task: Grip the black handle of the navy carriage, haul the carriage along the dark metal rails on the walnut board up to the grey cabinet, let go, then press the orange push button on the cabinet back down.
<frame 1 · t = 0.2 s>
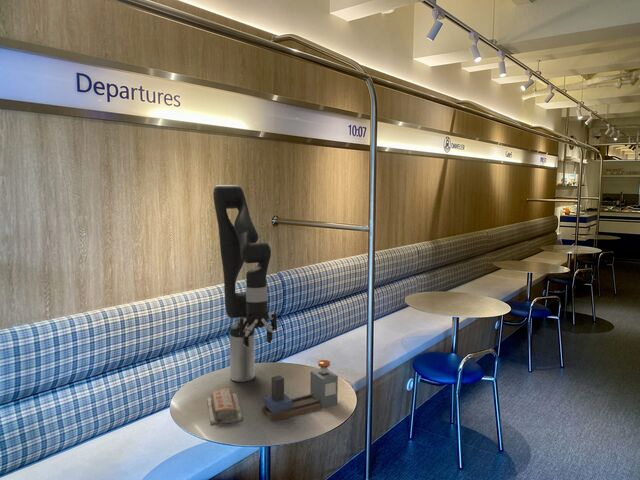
hand: (257, 344, 168), 18 cm above the table, tool pointing down, fingers open, 8 cm apart
carriage: (277, 391, 153), point 7 cm above the table, slide at 0.0 cm
end cabinet: (323, 401, 163), on the table
rail bed: (291, 409, 157), on the table
orange push button: (324, 370, 162), point 11 cm above the table, slide at 0.0 cm
packaged product: (224, 411, 156), on the table
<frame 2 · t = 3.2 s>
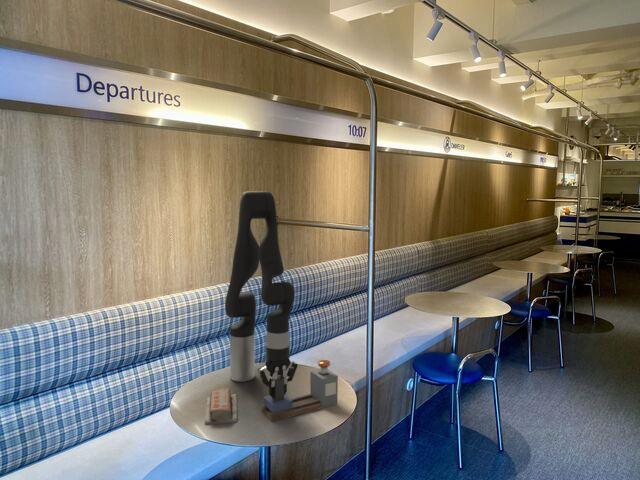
hand: (277, 395, 153), 6 cm above the table, tool pointing down, fingers closed on carriage, 3 cm apart
carriage: (277, 391, 153), point 7 cm above the table, slide at 0.0 cm, touching gripper
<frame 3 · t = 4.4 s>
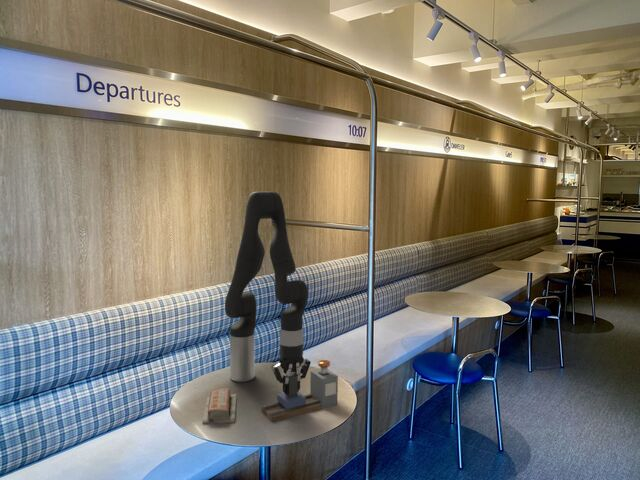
hand: (291, 392, 156), 6 cm above the table, tool pointing down, fingers closed on carriage, 3 cm apart
carriage: (291, 388, 156), point 7 cm above the table, slide at 5.0 cm, touching gripper
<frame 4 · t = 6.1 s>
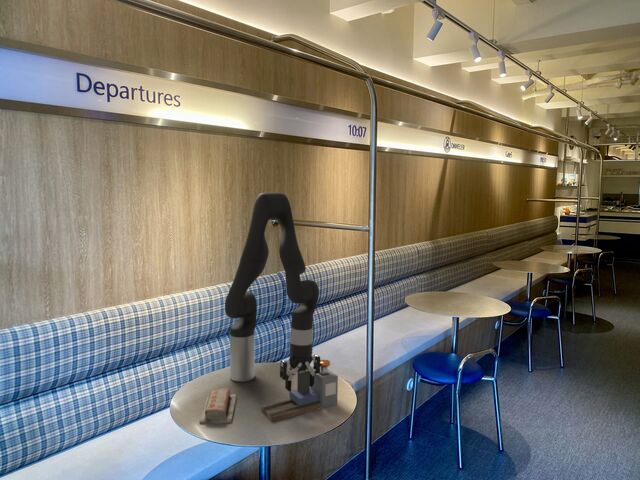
hand: (299, 388, 158), 7 cm above the table, tool pointing down, fingers open, 7 cm apart
carriage: (303, 385, 158), point 7 cm above the table, slide at 9.5 cm
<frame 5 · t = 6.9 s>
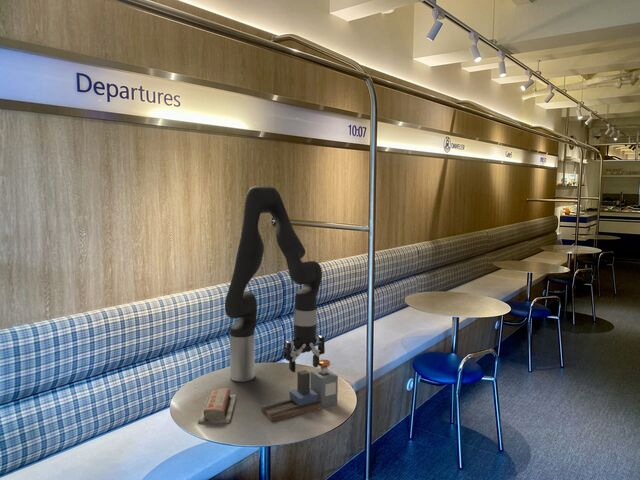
hand: (304, 369, 158), 13 cm above the table, tool pointing down, fingers open, 8 cm apart
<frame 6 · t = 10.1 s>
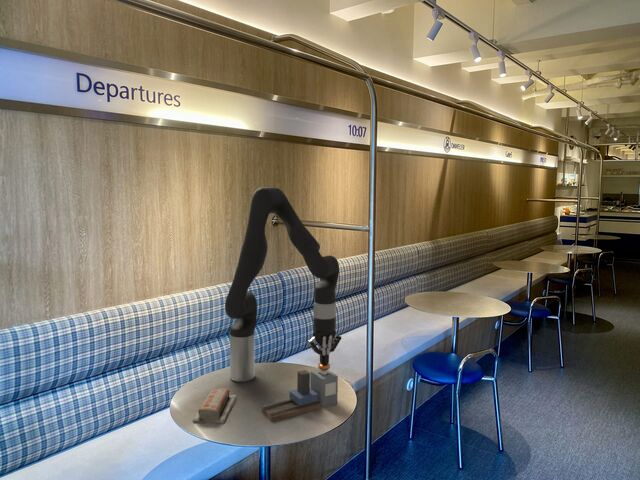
hand: (324, 364, 161), 13 cm above the table, tool pointing down, fingers closed
orange push button: (324, 373, 162), point 10 cm above the table, slide at 0.9 cm, touching gripper
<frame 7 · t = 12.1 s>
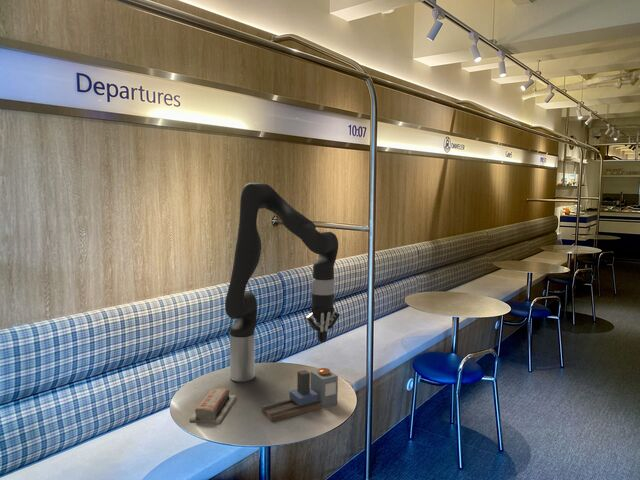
hand: (322, 341, 161), 21 cm above the table, tool pointing down, fingers closed
orange push button: (323, 378, 162), point 8 cm above the table, slide at 2.9 cm
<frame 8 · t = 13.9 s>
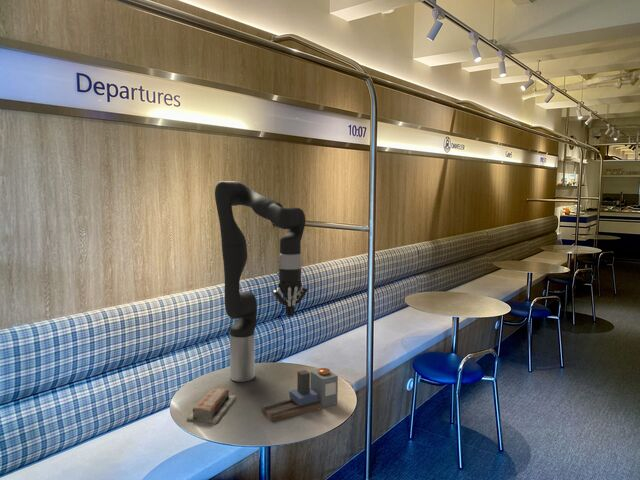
hand: (289, 316, 163), 29 cm above the table, tool pointing down, fingers closed
at the end: carriage slide at 9.5 cm; orange push button slide at 2.9 cm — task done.
